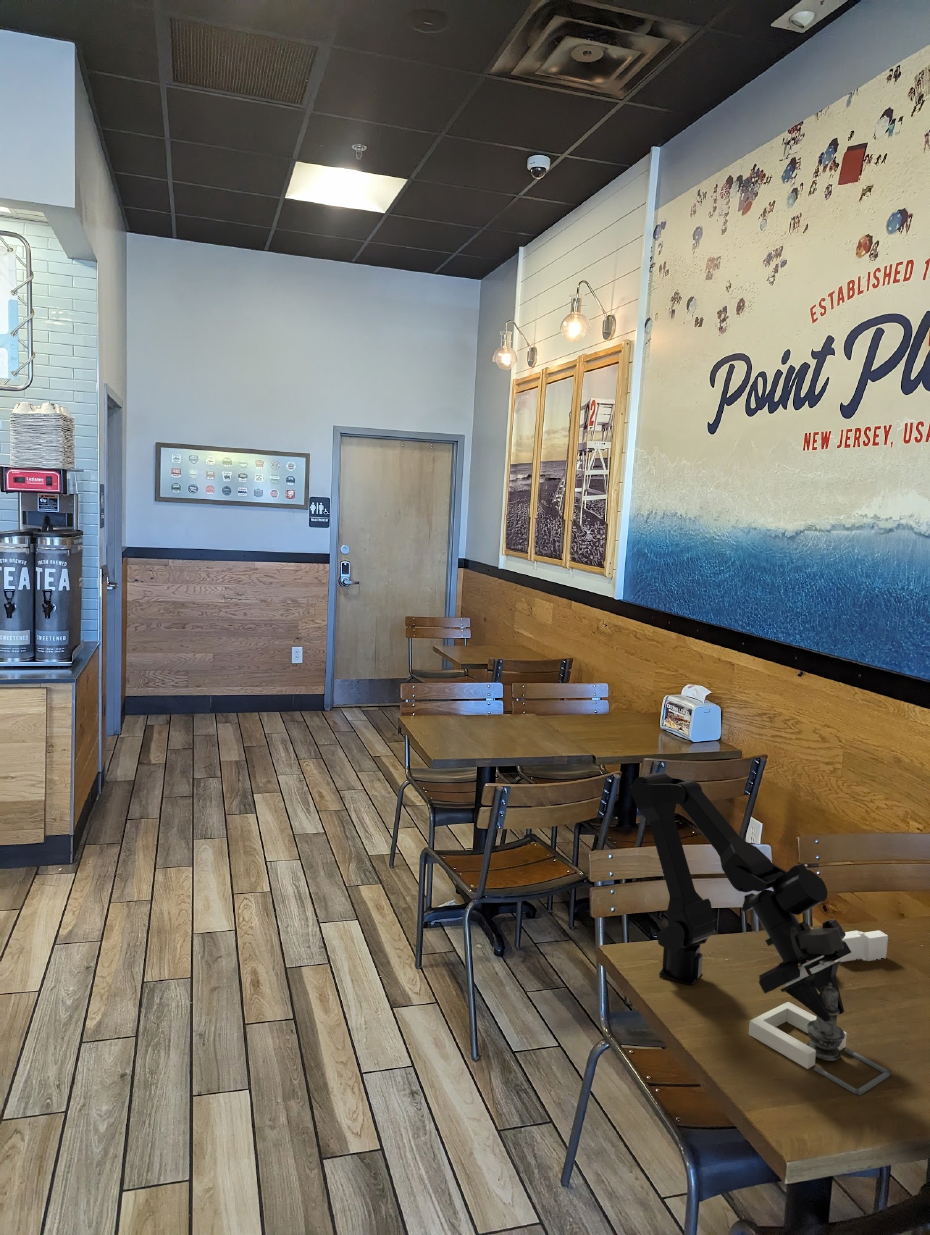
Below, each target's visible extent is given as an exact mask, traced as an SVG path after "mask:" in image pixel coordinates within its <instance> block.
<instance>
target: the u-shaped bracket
mask: <svg viewBox="0 0 930 1235" xmlns="http://www.w3.org/2000/svg"><path fill="white" fill-rule="evenodd" d="M816 1018H817V1015H814V1014H812V1013H810V1012H808V1011H806V1010H805V1009H803V1008H801V1007H799V1006H797V1005H795V1004H793V1003H791V1002H789V1001H787V1002H784V1003H782V1004H781V1005H779V1006H777V1007H775V1008H773V1009H770V1010H768V1011H766V1012H763V1013H762V1014H760V1015H759V1016H756V1017H754V1018H752V1019H750V1020H749V1026H748V1035H749V1036H750V1037H752V1038H754V1039H756V1040H758V1041H759V1042H761V1043H763V1044H764V1045H766V1046H768V1047H770V1048H771V1049H773V1050H775V1051H777V1053H780V1054H781V1055H784V1056H785V1057H787V1058H788V1059H790V1060H791V1061H793V1062H795V1063H796V1064H798V1065H800V1066H802V1067H803V1068H805V1069H807V1070H809V1069H810V1068H812V1067H815V1065H816V1050H814V1049H813V1048H811V1047H809V1046H807V1043H806V1044H805V1043H804V1042H802V1041H801V1040H799V1039H797V1038H795V1037H793V1036H791V1035H790V1034H788V1033H786V1032H784V1031H782V1030H781V1029H779V1028H778V1026H780V1025H783V1024H784V1023H788V1024H789V1025H791V1026H793V1027H795V1028H797V1029H799V1030H800V1031H802V1032H804V1033H806V1034H808V1030H807V1026H806V1025H807V1023H808V1022H810V1021H813V1020H816ZM843 1032H844V1033H845V1037H844V1039H843V1040H842V1043H841V1044H840V1046H839V1047H837V1048H838V1049H839V1050H840V1051H841V1050H843V1049H846V1047H847V1046H846V1045H847V1035H848V1033H847V1031H844V1030H843Z"/></svg>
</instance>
